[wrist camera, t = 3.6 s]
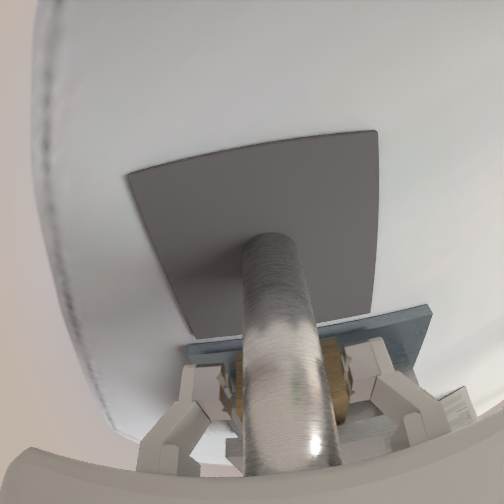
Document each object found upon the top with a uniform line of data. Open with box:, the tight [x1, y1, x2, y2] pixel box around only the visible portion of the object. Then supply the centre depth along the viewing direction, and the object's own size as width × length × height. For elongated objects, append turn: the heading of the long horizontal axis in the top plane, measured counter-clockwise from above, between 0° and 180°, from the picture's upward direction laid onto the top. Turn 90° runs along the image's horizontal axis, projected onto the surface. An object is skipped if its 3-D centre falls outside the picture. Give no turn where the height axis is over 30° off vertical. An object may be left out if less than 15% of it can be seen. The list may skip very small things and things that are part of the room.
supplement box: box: [440, 387, 479, 432], centre depth 28 cm, size 13×13×18 cm
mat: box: [128, 130, 379, 339], centre depth 17 cm, size 12×12×1 cm
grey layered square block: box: [187, 304, 433, 475], centre depth 23 cm, size 18×18×8 cm
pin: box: [243, 232, 343, 477], centre depth 11 cm, size 3×3×14 cm
